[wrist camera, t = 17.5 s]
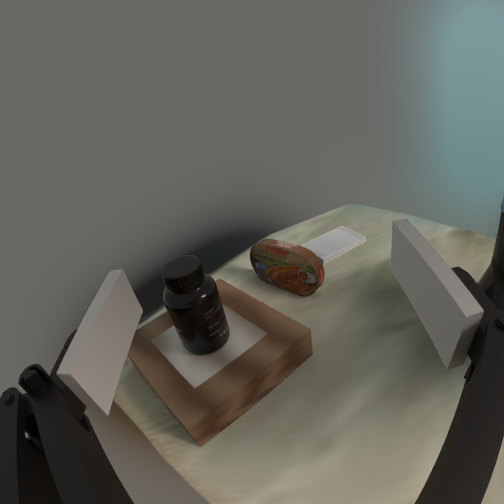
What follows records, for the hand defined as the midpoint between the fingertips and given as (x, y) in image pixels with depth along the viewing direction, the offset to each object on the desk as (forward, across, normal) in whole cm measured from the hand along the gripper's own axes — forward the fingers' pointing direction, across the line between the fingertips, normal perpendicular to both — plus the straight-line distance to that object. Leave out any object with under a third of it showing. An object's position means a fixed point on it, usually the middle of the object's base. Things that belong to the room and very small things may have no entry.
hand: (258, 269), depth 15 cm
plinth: (+18, -11, -27) cm, 34 cm away
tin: (+34, +2, -27) cm, 44 cm away
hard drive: (+45, +12, -28) cm, 55 cm away
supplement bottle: (+18, -10, -22) cm, 30 cm away
